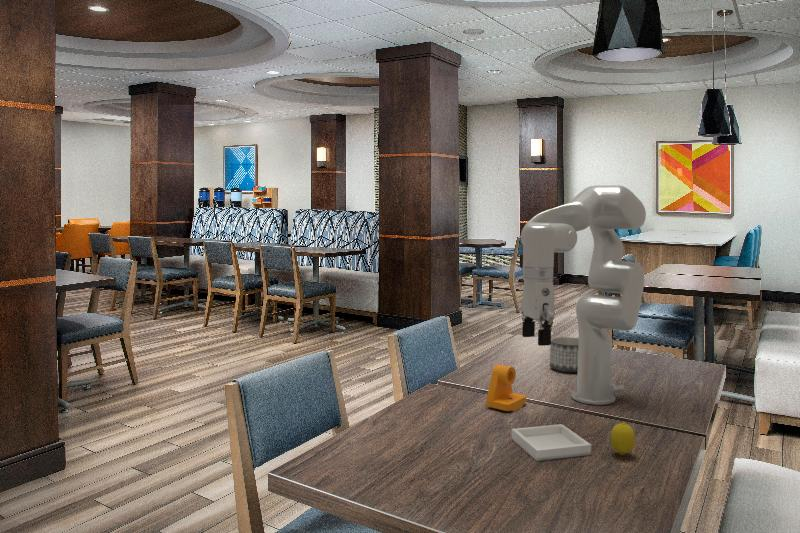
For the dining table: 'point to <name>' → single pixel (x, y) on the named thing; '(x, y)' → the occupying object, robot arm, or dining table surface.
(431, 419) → the dining table surface
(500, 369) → the bracket
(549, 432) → the tray
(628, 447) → the lemon
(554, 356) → the planter
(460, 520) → the dining table surface
